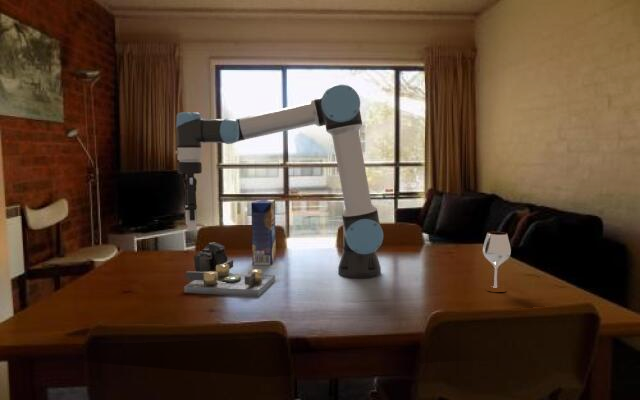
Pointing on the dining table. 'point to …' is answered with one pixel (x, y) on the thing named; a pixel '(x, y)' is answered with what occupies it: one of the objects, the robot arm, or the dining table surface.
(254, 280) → the knob arm
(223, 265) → the knob far
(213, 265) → the camera
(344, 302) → the dining table surface
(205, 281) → the knob near
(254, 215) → the juice carton
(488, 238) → the wineglass
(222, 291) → the level plate
